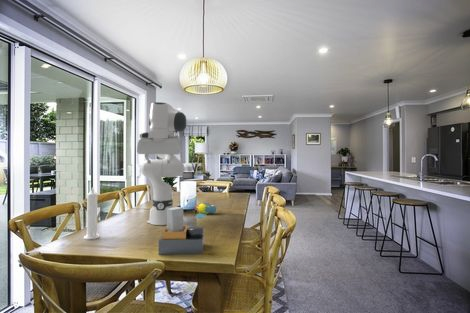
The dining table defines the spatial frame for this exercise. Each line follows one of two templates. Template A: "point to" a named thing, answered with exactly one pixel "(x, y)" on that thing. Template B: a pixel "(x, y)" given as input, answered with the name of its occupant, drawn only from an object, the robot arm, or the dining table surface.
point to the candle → (91, 216)
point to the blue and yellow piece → (205, 209)
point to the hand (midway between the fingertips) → (159, 163)
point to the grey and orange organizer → (182, 241)
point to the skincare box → (175, 219)
